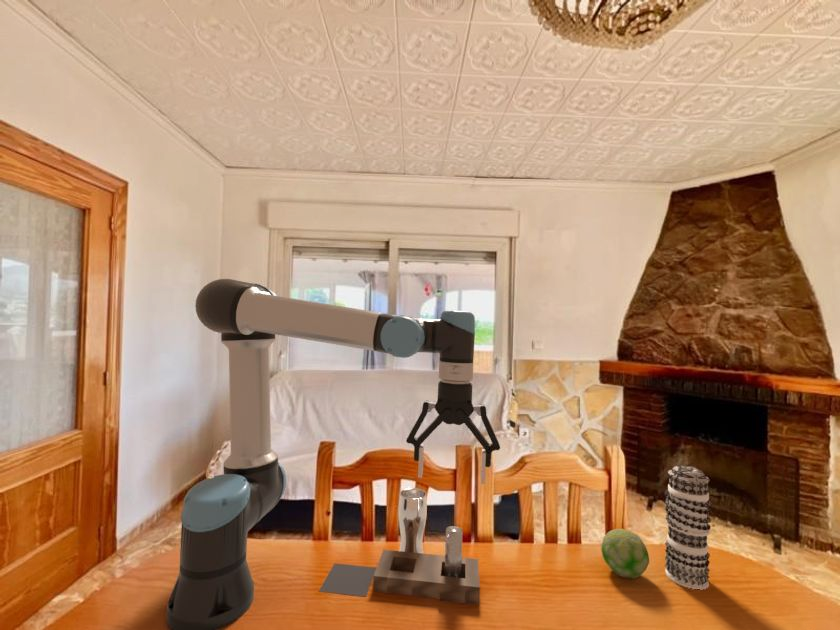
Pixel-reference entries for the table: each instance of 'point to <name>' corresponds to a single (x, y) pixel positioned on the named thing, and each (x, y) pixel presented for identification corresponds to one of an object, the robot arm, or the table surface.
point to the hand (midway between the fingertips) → (451, 478)
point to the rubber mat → (348, 580)
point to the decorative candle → (687, 527)
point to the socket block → (426, 577)
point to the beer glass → (412, 519)
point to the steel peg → (453, 552)
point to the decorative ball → (625, 553)
